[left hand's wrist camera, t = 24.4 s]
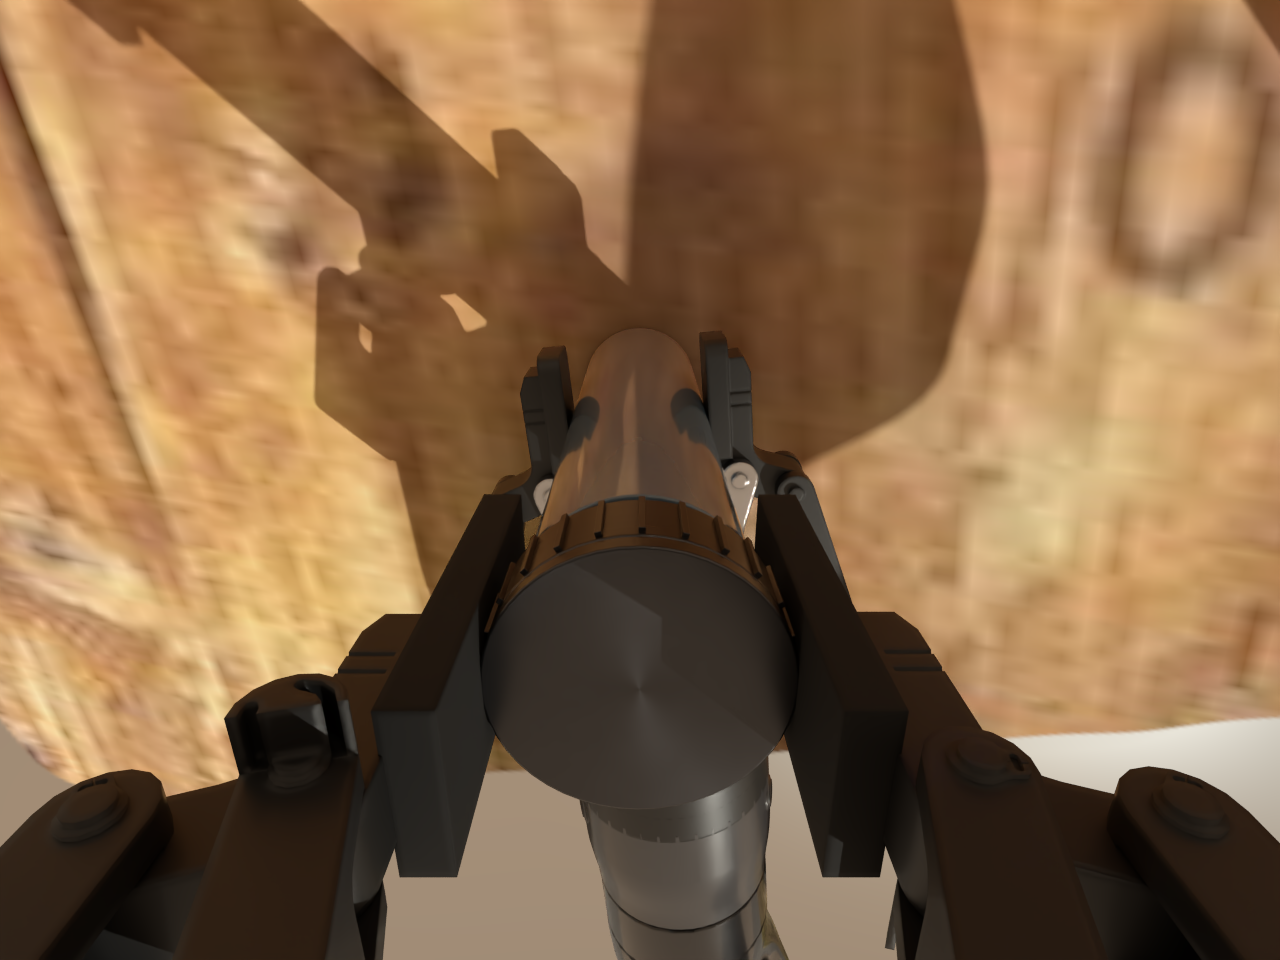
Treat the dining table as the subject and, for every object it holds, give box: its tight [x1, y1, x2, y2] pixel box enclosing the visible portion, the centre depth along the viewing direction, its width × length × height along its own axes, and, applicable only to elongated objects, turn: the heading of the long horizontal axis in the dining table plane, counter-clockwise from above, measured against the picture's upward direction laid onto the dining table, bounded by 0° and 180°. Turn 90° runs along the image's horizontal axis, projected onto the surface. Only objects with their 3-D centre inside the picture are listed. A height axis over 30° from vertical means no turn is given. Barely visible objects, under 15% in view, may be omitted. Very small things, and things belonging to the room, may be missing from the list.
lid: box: [480, 496, 799, 809], centre depth 12 cm, size 5×5×2 cm
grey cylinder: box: [536, 328, 745, 539], centre depth 20 cm, size 4×4×18 cm
